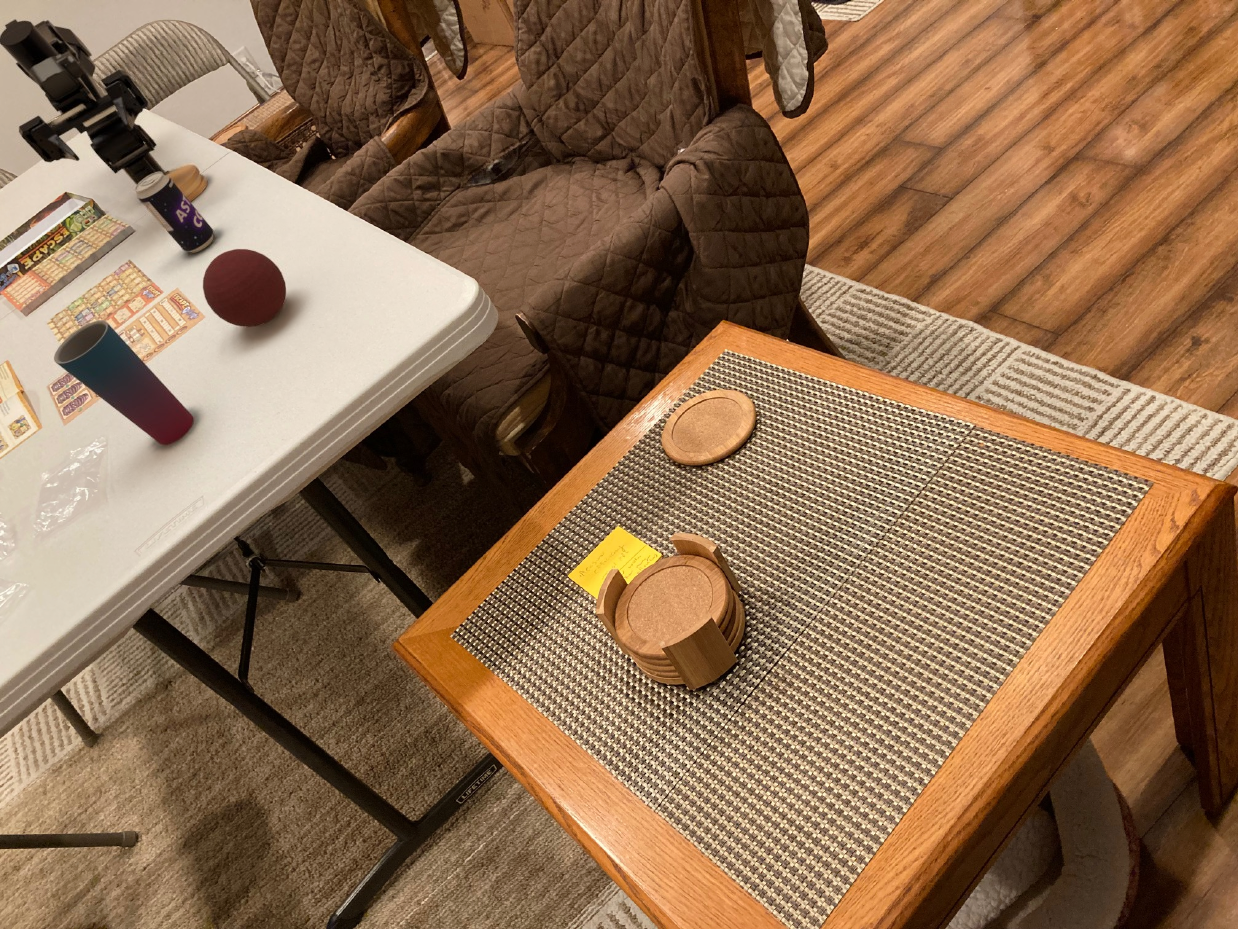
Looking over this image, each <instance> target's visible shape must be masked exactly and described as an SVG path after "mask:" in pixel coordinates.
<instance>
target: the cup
mask: <svg viewBox="0 0 1238 929" xmlns="http://www.w3.org/2000/svg"><path fill="white" fill-rule="evenodd" d="M53 361H54V362H55V363H56V364H57V365H58V367H60V368H62V369H63V370H64V371H65V372H67V373H68V374H70V376H72V377H74V378H75V379H76V380H77V381H78V382H79V383H80V384H82V385H84V386H85V387H86V388H87V389H89V390H90V391H92V392H93V393H94V394H95V395H97V396H98V397H99V398H100V399H102V400H103V401H104V402H106V403H107V404H108V405H109V406H111V407H112V408H113V409H115V410H116V411H117V412H119V413H120V414H121V415H122V416H124V417H125V418H126V419H127V420H129V421H130V422H131V423H133V424H134V425H135V426H136V427H137V428H139V429H140V430H141V431H143V432H144V433H145V434H147V435H148V436H149V437H150V438H152V439H154V441H156V442H157V443H158V444H159V445H162V446H166V445H167V446H168V445H171V444H173V443H175V442H178V441H179V440H181V439H182V438H183V437H184V436H185V435H186V434H187V433H188V432H189V431H190V429H191V428H192V427H193V424H194V421H195V418H194V416H193V414H192V413H191V412H190V411H189V410H188V409H187V408H186V406H184V404H183V403H181V401H180V400H179V399H178V398H177V397H176V396H175V395H174V394H173V393H172V392H171V390H170V389H169V388H168V387H167V386H166V385H165V384H164V383H163V382H162V380H160V378H159V377H158V376H157V375H156V374H155V373H154V372H153V370H151V368H150V367H149V366H148V365H147V364H146V363H145V362H144V360H142V359H141V357H139V355H138V354H137V353H136V352H135V350H133V349H132V348H131V347H130V346H129V344H128V343H127V342H126V341H125V340H124V339H123V338H122V337H121V336H120V335H119V334H118V332H117V331H116V330H115V329H114V328H113V327H112V326H111V325H110V324H109V323H108V322H107V321H106V320H102V319H101V320H100V319H99V320H95V321H92V322H89V323H86V324H85V325H83V326H82V327H80V328H78V329H77V330H75V331H74V332H73V333H71V334H70V335H69V336H68V337H67V338H65V340H63V341H62V343H60V345H59V346H58V347H57V349H56V351H55V353H54V356H53Z"/></svg>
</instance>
